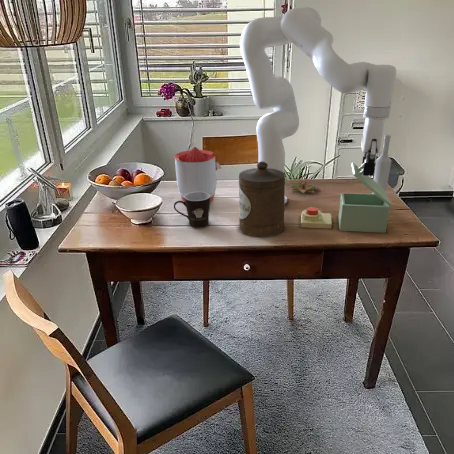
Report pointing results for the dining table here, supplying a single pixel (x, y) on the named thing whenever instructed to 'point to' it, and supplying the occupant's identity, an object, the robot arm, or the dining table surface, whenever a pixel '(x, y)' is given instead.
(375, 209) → the compartment
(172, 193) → the dining table surface
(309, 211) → the button
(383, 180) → the bottle
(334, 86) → the robot arm
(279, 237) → the dining table surface
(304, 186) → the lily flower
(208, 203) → the coffee mug
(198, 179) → the citrus juicer
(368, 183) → the lid
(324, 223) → the control block
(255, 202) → the wooden container
